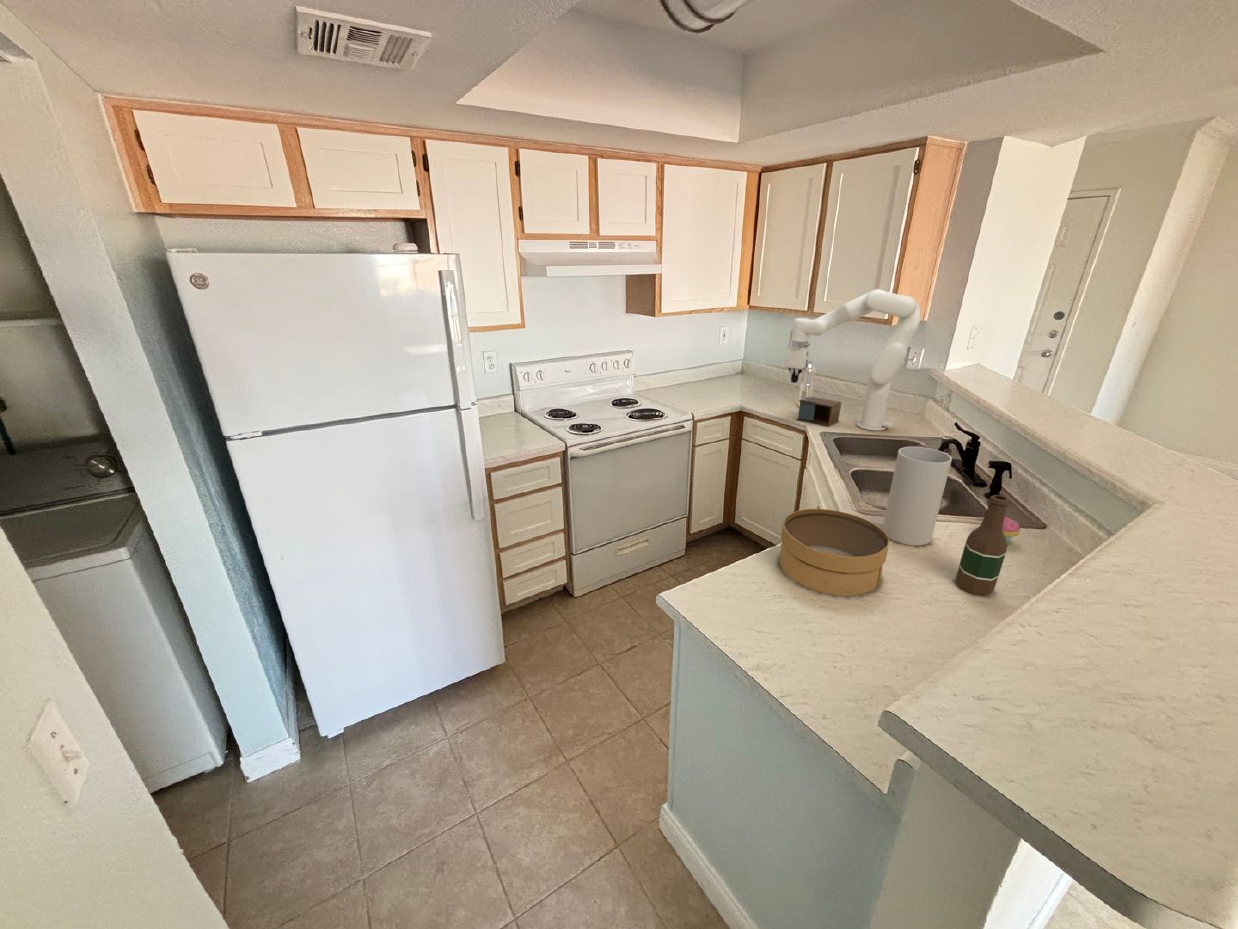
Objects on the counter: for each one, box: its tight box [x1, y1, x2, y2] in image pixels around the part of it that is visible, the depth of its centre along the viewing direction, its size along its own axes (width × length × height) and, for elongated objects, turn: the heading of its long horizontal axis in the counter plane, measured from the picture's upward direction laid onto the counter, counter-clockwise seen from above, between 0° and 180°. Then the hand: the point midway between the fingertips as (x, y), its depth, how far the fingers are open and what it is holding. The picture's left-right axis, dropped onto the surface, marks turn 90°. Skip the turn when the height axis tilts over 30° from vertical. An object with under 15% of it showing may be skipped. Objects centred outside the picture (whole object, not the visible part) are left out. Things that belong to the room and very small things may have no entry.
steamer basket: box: [779, 508, 890, 597], centre depth 127 cm, size 25×25×11 cm
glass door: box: [797, 391, 816, 421], centre depth 247 cm, size 1×8×14 cm, turn 44°
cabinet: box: [796, 396, 842, 428], centre depth 248 cm, size 12×16×10 cm
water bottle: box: [797, 360, 817, 408], centre depth 269 cm, size 7×7×25 cm
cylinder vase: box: [881, 446, 953, 547], centre depth 140 cm, size 12×12×25 cm
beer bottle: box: [955, 494, 1011, 597], centre depth 117 cm, size 8×8×24 cm
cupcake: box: [1003, 516, 1021, 543], centre depth 139 cm, size 9×8×12 cm
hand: (794, 382), depth 248 cm, fingers closed
